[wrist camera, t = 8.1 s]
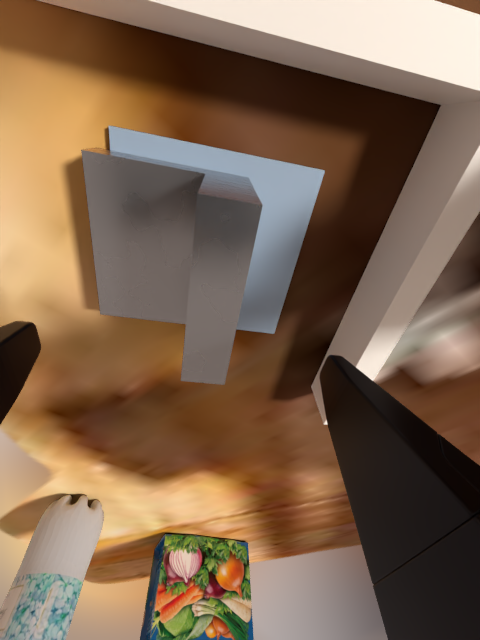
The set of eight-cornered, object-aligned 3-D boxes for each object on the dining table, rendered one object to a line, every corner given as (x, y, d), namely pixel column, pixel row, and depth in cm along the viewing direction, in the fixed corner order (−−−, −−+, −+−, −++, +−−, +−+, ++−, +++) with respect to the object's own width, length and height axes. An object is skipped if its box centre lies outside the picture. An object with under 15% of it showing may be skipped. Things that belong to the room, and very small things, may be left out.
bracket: (224, 314, 18) (224, 384, 13) (110, 299, 17) (63, 370, 12) (248, 177, 14) (262, 205, 9) (96, 147, 13) (14, 159, 8)
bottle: (54, 484, 29) (-166, 944, 13) (118, 496, 31) (1, 904, 15) (42, 510, 32) (-148, 908, 16) (101, 520, 34) (-11, 879, 18)
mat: (323, 170, 14) (325, 170, 14) (273, 331, 19) (274, 333, 19) (110, 125, 12) (108, 125, 12) (122, 313, 18) (120, 315, 18)
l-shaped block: (495, 67, 12) (583, 47, 9) (329, 388, 23) (344, 425, 20) (-30, -86, 9) (-146, -184, 6) (67, 364, 20) (41, 403, 17)
